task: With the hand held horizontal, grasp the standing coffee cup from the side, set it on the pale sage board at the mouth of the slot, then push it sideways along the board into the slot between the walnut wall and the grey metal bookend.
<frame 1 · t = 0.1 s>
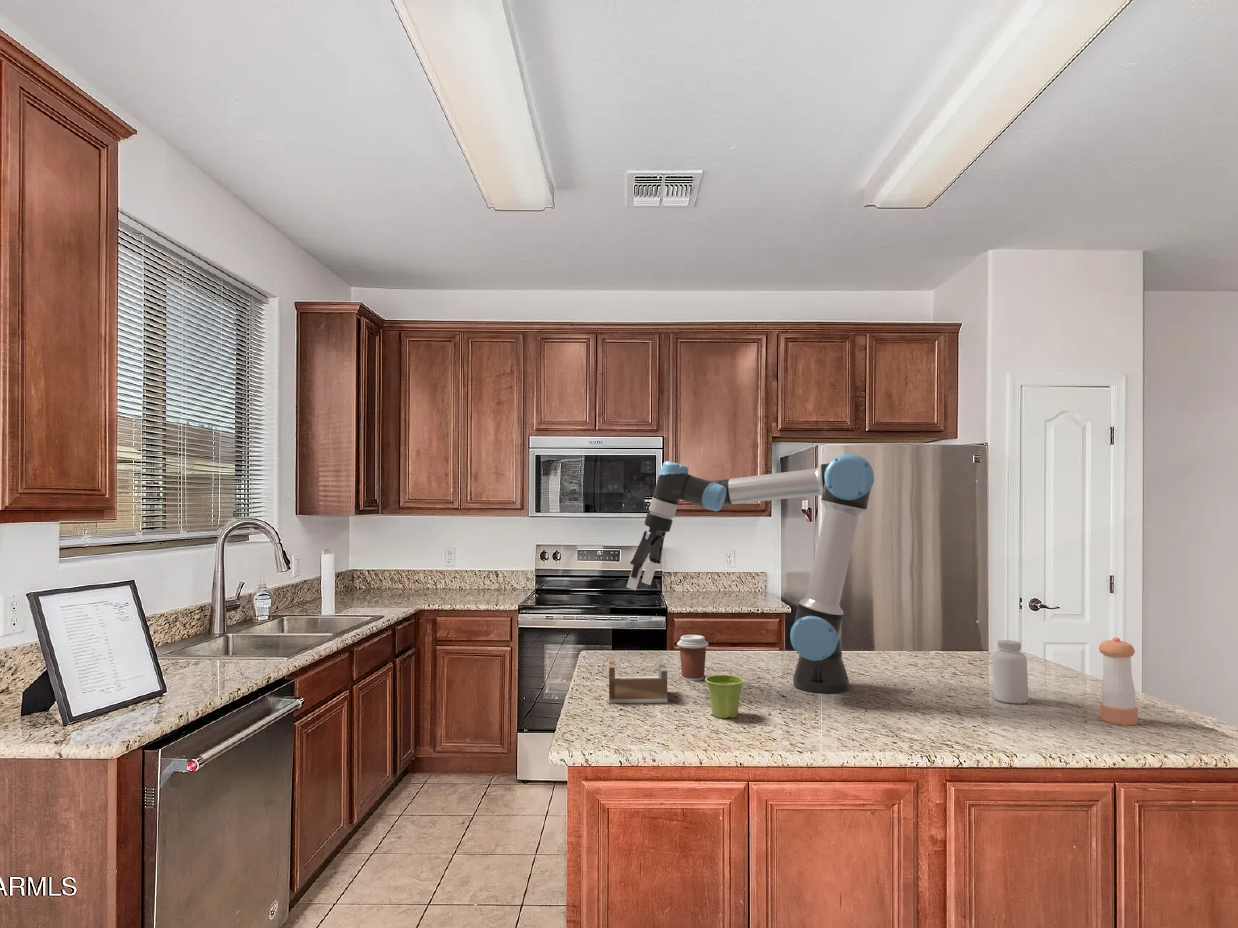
hand: (638, 586, 214), 28 cm above the countertop, tool tilted 20°, fingers open, 13 cm apart
pill bottle: (1010, 701, 193), on the countertop
pepper shaker: (1119, 721, 175), on the countertop
shelf: (637, 695, 201), on the countertop
plant pot: (725, 716, 182), on the countertop
coffee cup: (693, 678, 220), on the countertop
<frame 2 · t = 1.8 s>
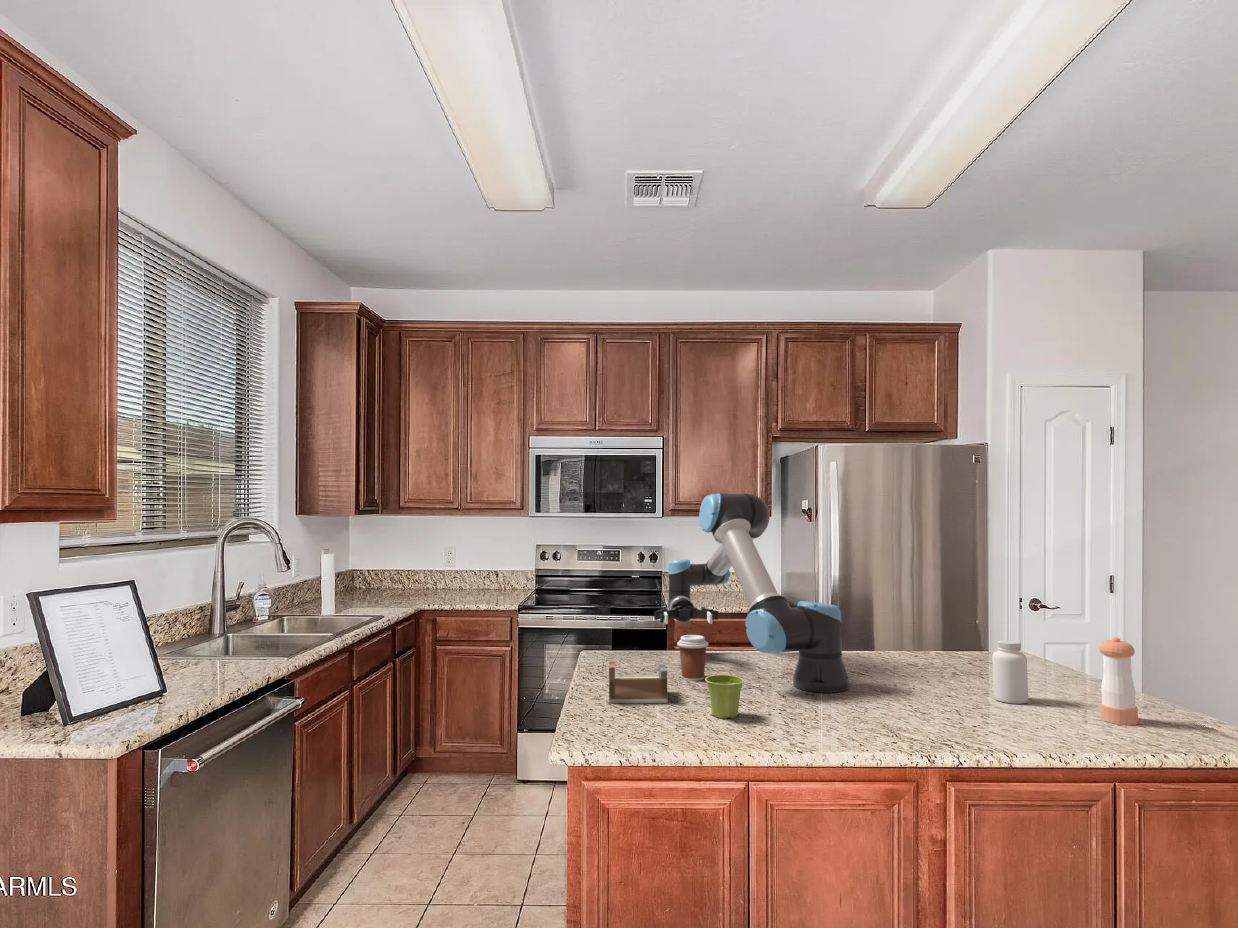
hand: (688, 619, 230), 15 cm above the countertop, tool horizontal, fingers open, 13 cm apart
nothing on the countertop moved.
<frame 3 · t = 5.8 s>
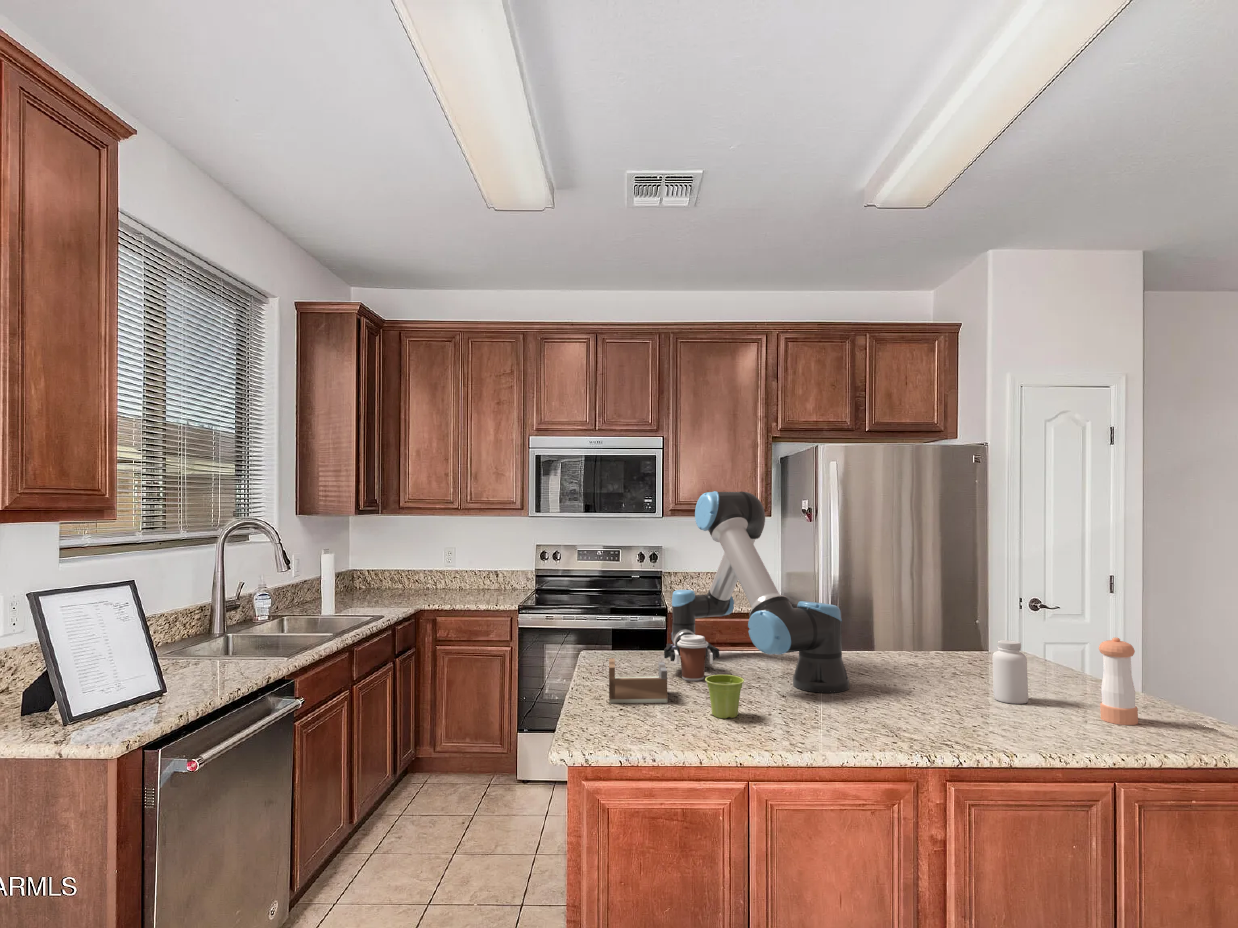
hand: (694, 658, 216), 7 cm above the countertop, tool horizontal, fingers closed on coffee cup, 9 cm apart
coffee cup: (693, 678, 220), on the countertop, touching gripper
everything else where it was.
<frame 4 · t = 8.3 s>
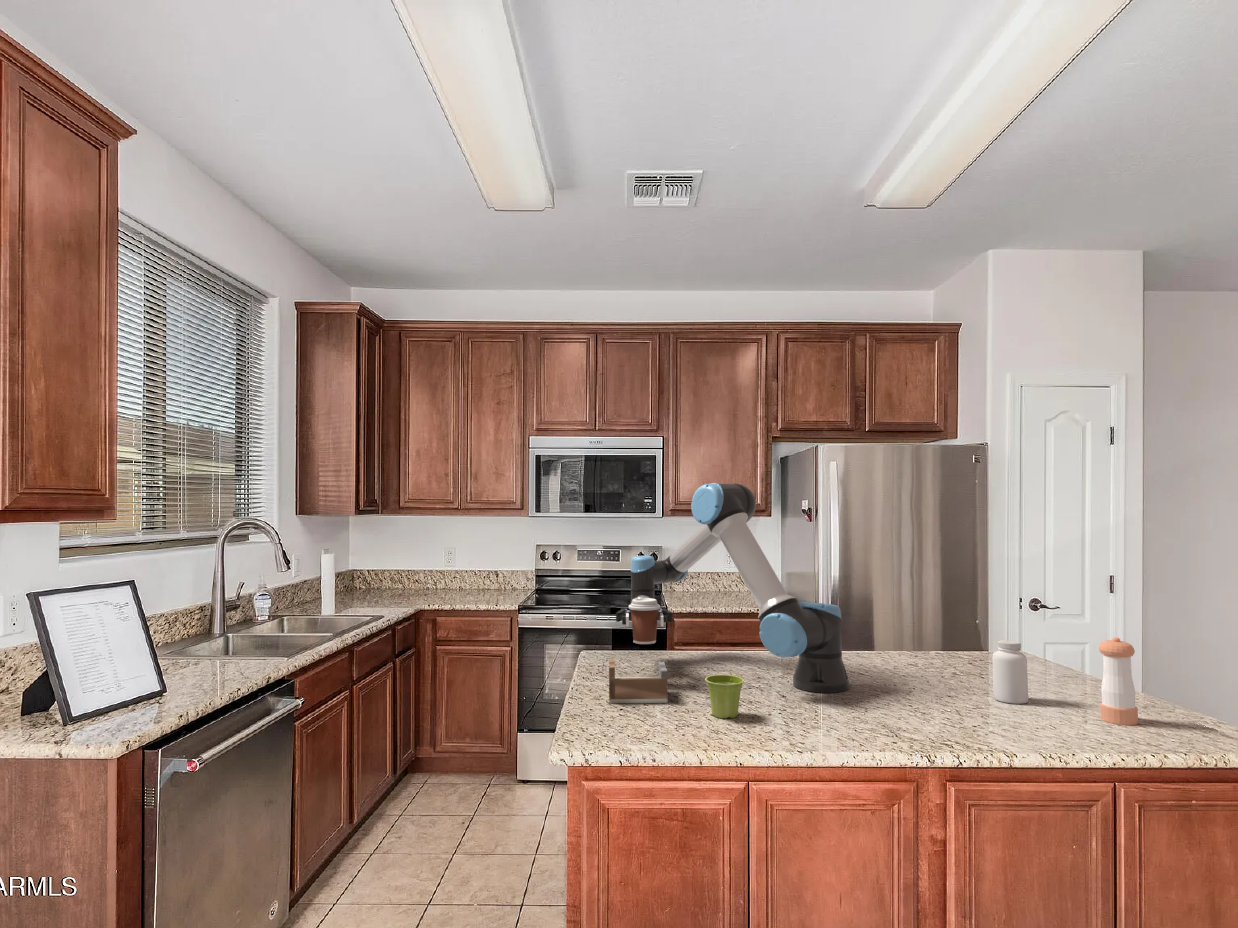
hand: (644, 621, 210), 18 cm above the countertop, tool horizontal, fingers closed on coffee cup, 9 cm apart
coffee cup: (644, 642, 214), point 12 cm above the countertop, touching gripper
everything else where it was.
when the fingers open (8 cm above the countertop, at t = 10.9 s): coffee cup stays where it is, resting on shelf.
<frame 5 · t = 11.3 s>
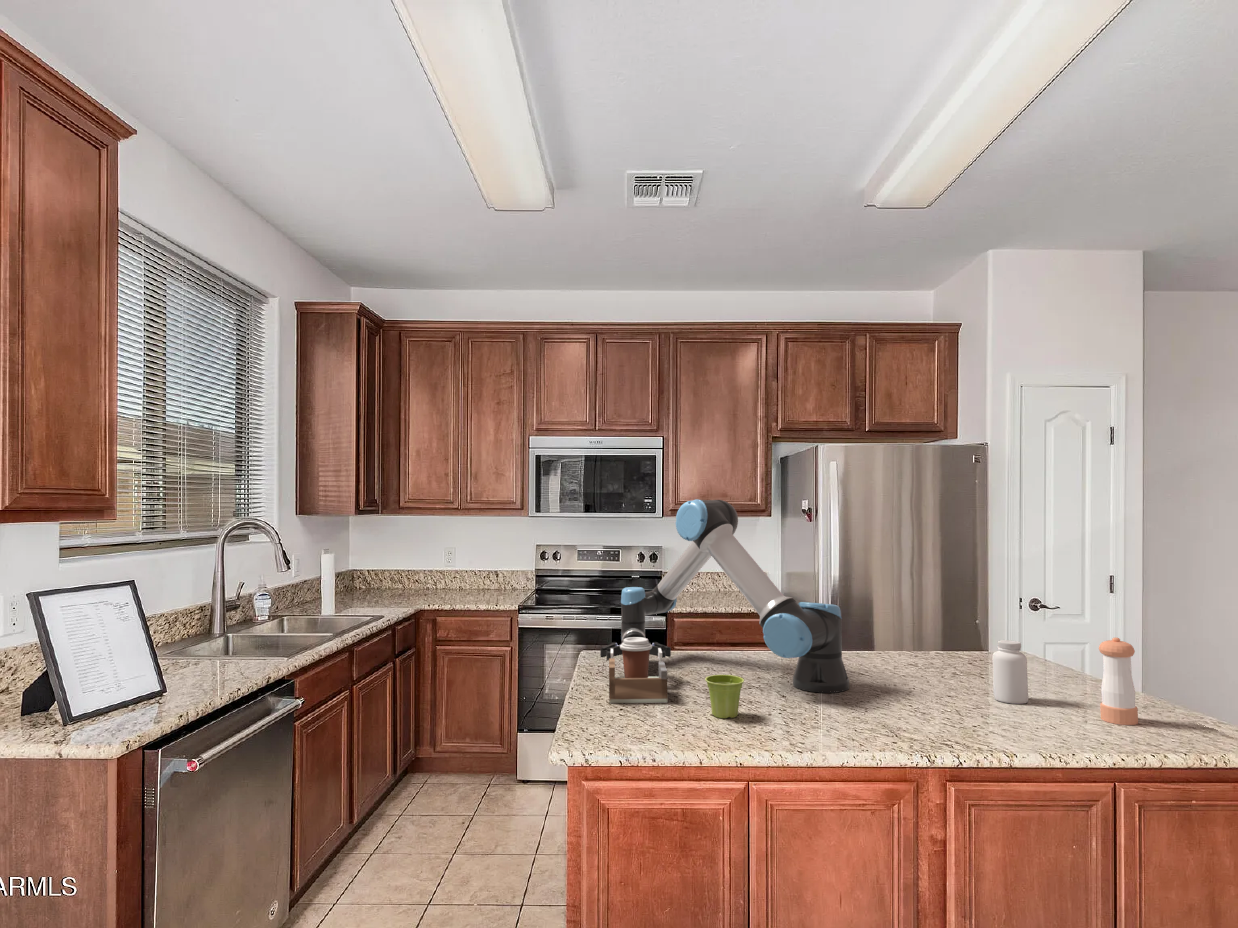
hand: (636, 657, 208), 8 cm above the countertop, tool horizontal, fingers open, 13 cm apart
coffee cup: (636, 682, 211), point 1 cm above the countertop, touching shelf
everything else where it was.
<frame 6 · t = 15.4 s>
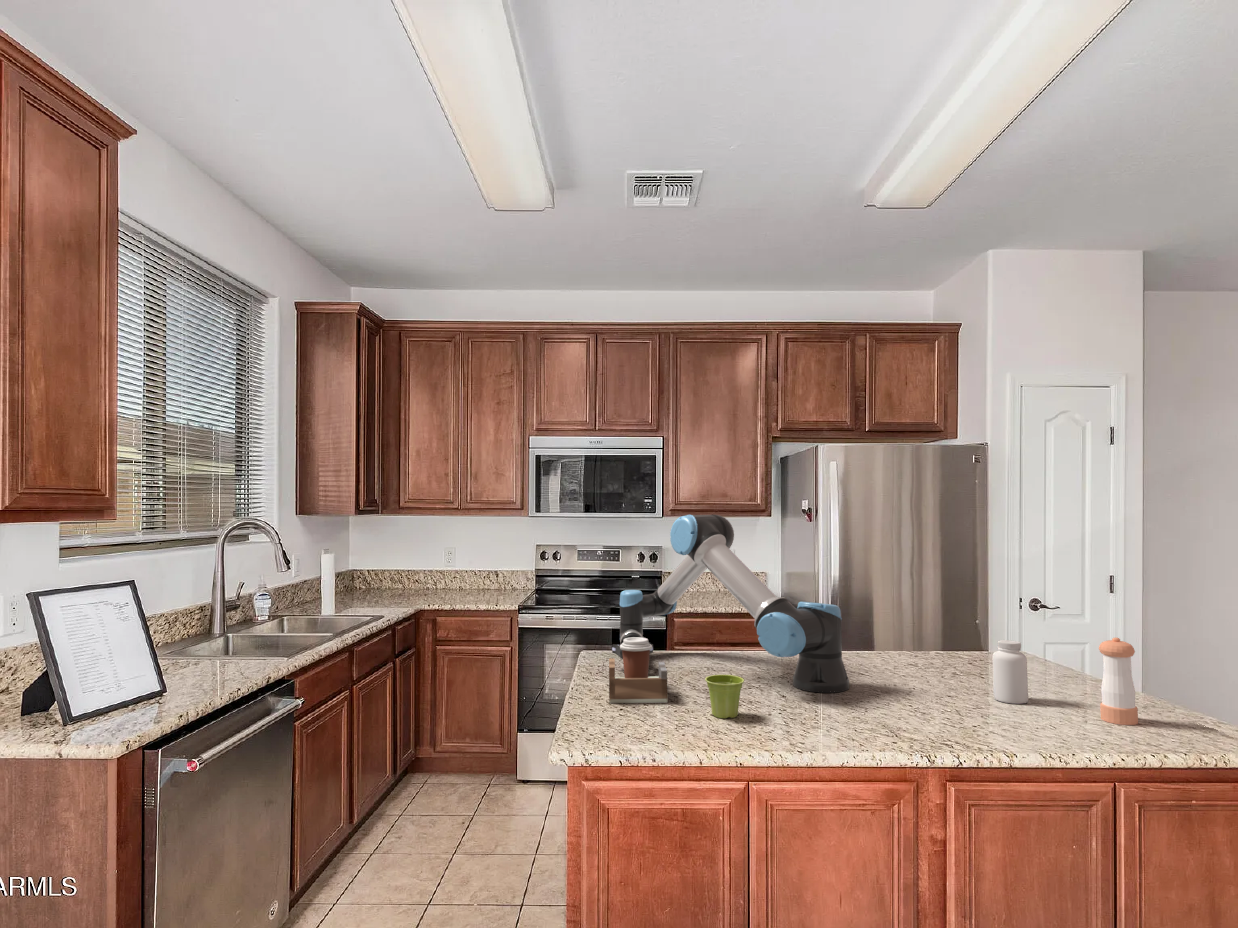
hand: (633, 659, 216), 6 cm above the countertop, tool horizontal, fingers closed
coffee cup: (636, 683, 211), point 1 cm above the countertop, touching gripper
everything else where it was.
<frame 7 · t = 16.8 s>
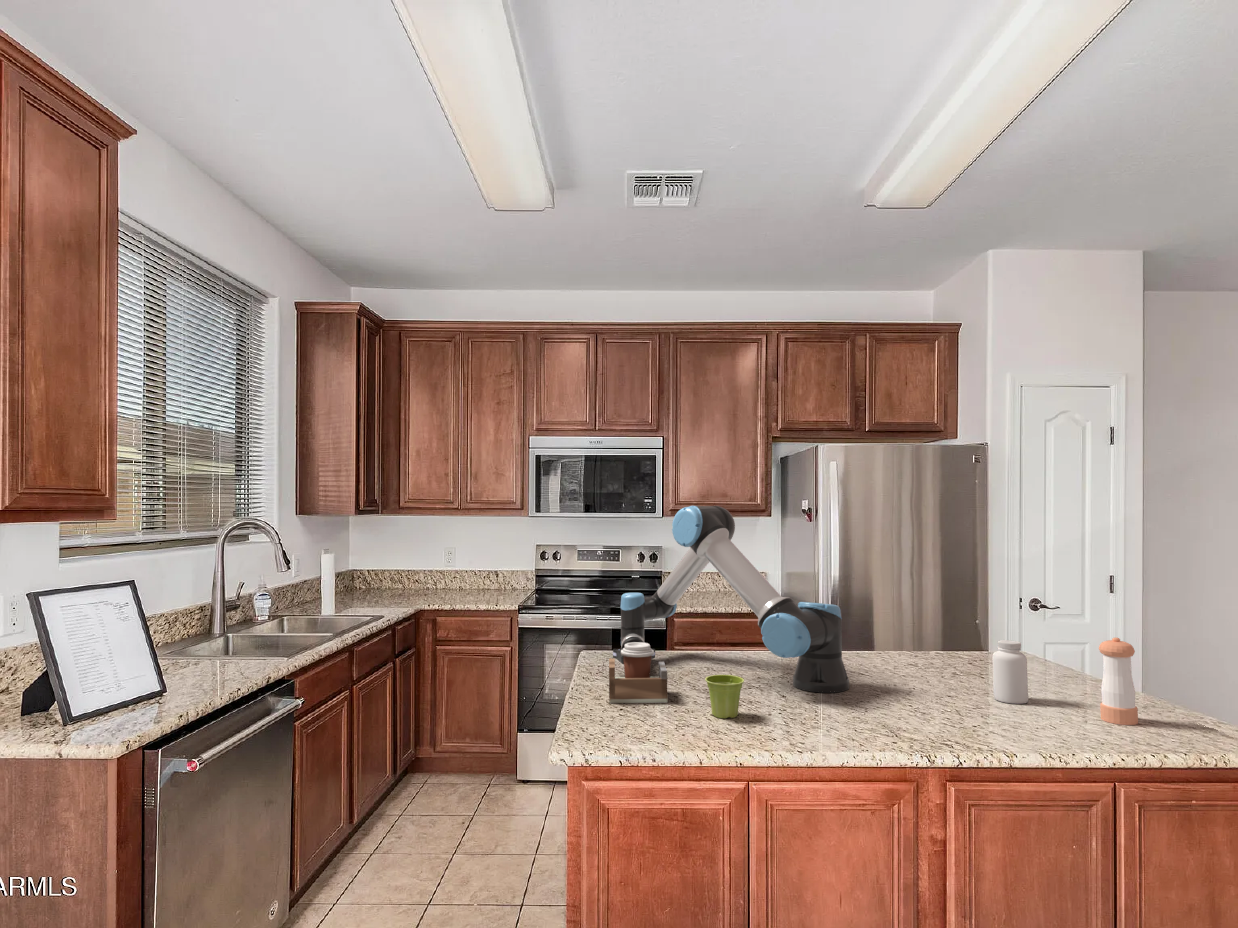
hand: (635, 665, 208), 6 cm above the countertop, tool horizontal, fingers closed
coffee cup: (637, 689, 203), point 1 cm above the countertop, touching gripper
everything else where it was.
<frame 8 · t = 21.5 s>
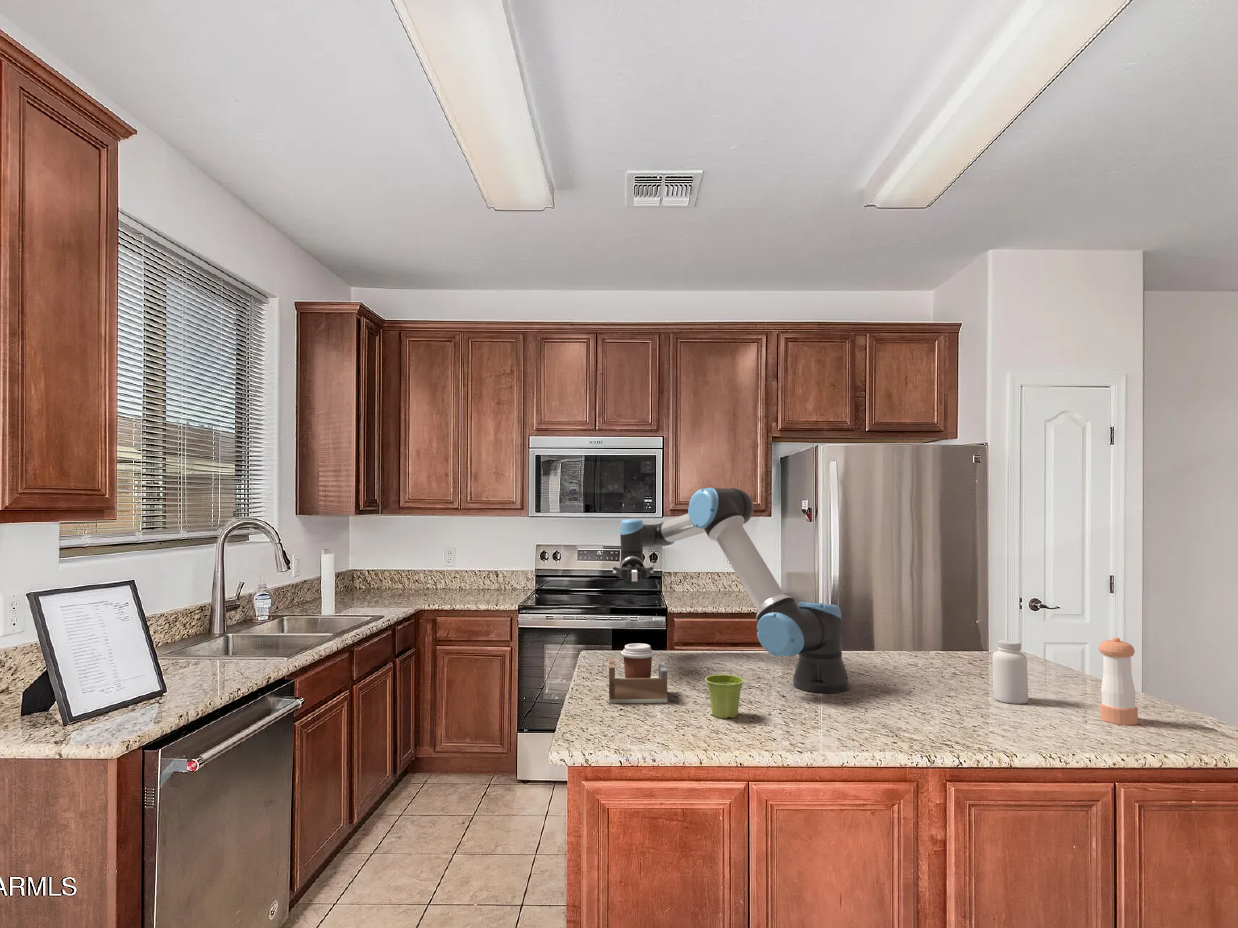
hand: (634, 576, 218), 30 cm above the countertop, tool horizontal, fingers closed
coffee cup: (638, 691, 202), point 1 cm above the countertop, touching shelf
everything else where it was.
at the end: coffee cup inside the target area (0.5 cm from its centre), point 0.8 cm above the countertop; coffee cup tilted 0°; the gripper is holding nothing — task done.
